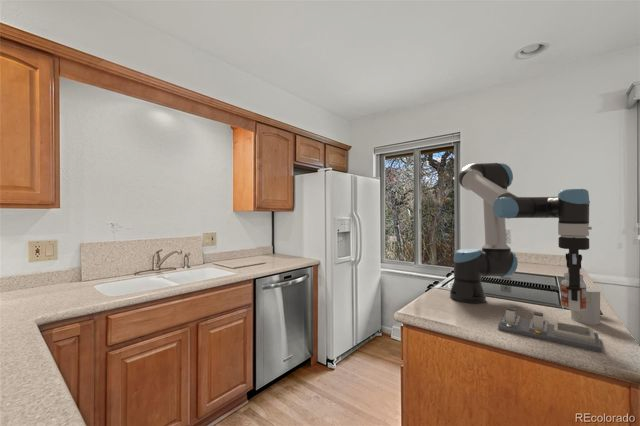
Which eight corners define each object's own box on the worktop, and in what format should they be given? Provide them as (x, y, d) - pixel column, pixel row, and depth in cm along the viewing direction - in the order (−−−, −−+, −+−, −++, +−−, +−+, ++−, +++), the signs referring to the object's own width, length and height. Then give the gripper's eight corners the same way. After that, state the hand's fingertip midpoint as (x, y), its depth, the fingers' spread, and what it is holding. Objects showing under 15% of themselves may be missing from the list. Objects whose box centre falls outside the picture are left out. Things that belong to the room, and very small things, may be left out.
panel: (498, 329, 100) (498, 321, 100) (503, 318, 110) (503, 310, 110) (601, 352, 84) (601, 342, 84) (597, 337, 94) (597, 328, 94)
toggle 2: (533, 327, 98) (533, 313, 98) (534, 325, 99) (534, 311, 99) (542, 329, 96) (543, 315, 96) (543, 327, 98) (543, 313, 98)
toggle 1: (505, 322, 103) (505, 308, 103) (506, 320, 105) (506, 306, 105) (514, 323, 101) (514, 310, 101) (515, 321, 103) (515, 308, 103)
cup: (565, 316, 112) (565, 286, 112) (584, 316, 112) (584, 285, 112) (586, 325, 104) (586, 292, 104) (606, 324, 104) (606, 291, 104)
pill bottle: (556, 306, 95) (556, 273, 94) (566, 304, 97) (566, 271, 97) (580, 312, 89) (580, 277, 89) (590, 309, 92) (590, 275, 92)
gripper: (592, 239, 83) (592, 318, 83) (587, 235, 98) (587, 302, 98) (558, 238, 88) (558, 313, 88) (558, 234, 103) (558, 298, 103)
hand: (573, 307), depth 93 cm, fingers closed on pill bottle, 6 cm apart
